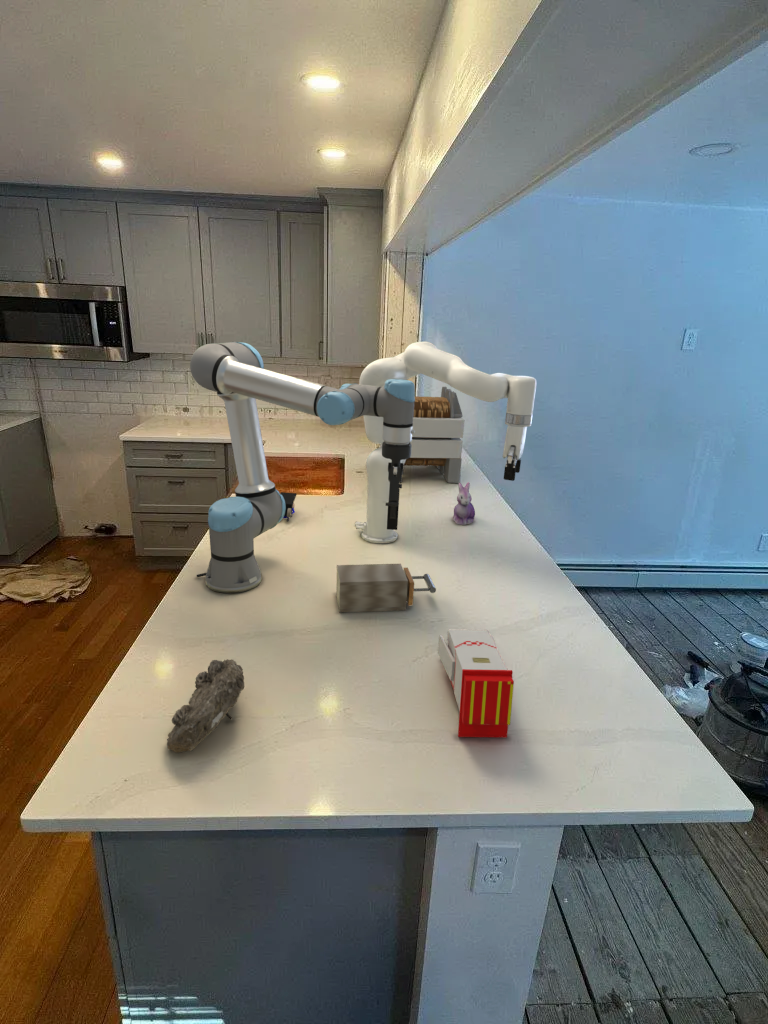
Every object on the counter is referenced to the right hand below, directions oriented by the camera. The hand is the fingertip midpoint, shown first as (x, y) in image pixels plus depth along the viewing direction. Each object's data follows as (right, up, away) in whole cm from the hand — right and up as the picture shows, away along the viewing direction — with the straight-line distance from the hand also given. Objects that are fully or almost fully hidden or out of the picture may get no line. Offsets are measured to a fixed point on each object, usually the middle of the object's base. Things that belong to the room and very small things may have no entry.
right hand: (511, 475), depth 171 cm
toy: (-21, -49, -53) cm, 75 cm away
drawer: (-37, -34, -18) cm, 53 cm away
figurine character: (-75, -13, +40) cm, 86 cm away
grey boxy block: (-42, -35, -18) cm, 58 cm away
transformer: (-21, +8, +104) cm, 106 cm away
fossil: (-71, -50, -63) cm, 108 cm away
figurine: (-8, -15, +43) cm, 46 cm away
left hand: (-36, -13, -20) cm, 43 cm away
